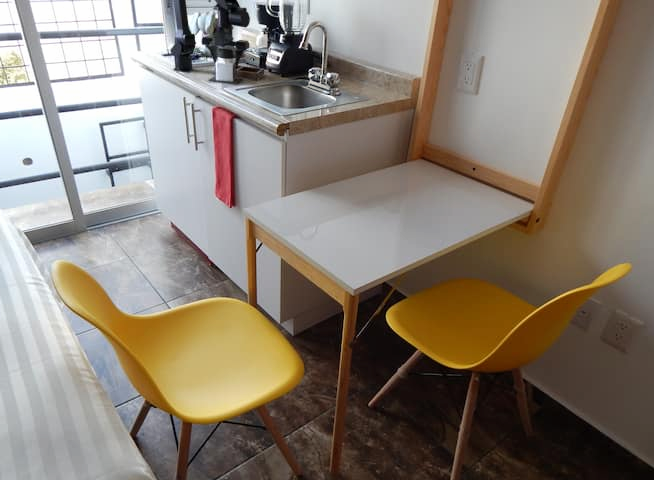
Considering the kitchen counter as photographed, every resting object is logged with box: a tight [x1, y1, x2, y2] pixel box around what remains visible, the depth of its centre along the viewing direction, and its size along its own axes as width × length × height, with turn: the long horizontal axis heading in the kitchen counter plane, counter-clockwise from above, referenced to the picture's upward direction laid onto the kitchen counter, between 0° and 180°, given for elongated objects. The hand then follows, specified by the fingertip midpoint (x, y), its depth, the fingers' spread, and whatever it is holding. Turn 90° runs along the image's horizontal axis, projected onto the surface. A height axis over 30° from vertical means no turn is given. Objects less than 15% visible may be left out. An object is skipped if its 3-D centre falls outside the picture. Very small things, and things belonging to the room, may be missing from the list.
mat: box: [208, 75, 244, 85], centre depth 205 cm, size 12×9×1 cm
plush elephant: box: [189, 10, 245, 58], centre depth 239 cm, size 27×22×21 cm
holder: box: [214, 64, 265, 81], centre depth 213 cm, size 19×10×3 cm, turn 78°
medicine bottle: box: [215, 48, 236, 82], centre depth 201 cm, size 7×7×12 cm
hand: (226, 65), depth 201 cm, fingers open, 9 cm apart
